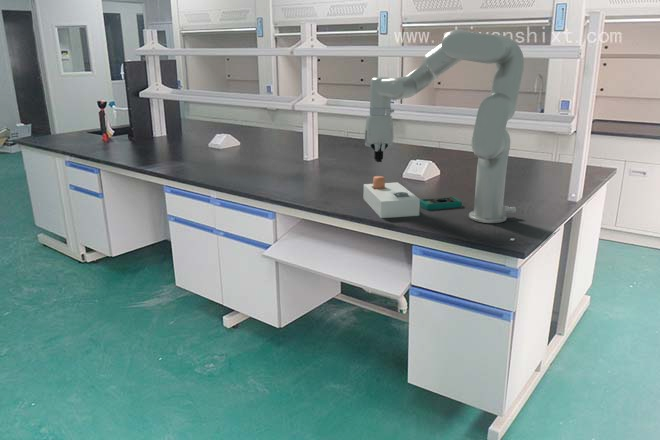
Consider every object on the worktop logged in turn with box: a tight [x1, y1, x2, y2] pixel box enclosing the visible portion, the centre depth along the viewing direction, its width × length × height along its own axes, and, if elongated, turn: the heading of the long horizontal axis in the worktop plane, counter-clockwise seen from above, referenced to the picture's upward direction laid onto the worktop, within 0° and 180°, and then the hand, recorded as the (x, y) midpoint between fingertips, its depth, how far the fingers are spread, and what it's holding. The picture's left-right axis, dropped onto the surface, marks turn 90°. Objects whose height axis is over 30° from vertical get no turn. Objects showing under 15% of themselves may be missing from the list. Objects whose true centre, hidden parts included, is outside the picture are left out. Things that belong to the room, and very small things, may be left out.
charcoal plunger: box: [396, 192, 408, 197], centre depth 191 cm, size 4×4×6 cm
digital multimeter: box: [420, 196, 463, 211], centre depth 198 cm, size 7×15×3 cm, turn 105°
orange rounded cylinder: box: [372, 175, 386, 189], centre depth 202 cm, size 4×4×6 cm
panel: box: [363, 181, 421, 219], centre depth 197 cm, size 14×26×6 cm, turn 10°
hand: (378, 161), depth 199 cm, fingers closed
